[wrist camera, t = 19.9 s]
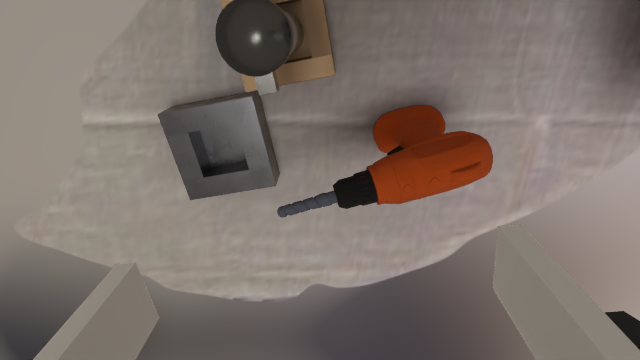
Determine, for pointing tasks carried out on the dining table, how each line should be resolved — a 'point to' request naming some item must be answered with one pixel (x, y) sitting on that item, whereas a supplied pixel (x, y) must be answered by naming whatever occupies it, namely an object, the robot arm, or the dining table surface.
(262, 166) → the block
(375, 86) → the dining table surface
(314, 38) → the wooden square frame
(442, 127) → the toy drill
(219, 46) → the dark grey tall piece
